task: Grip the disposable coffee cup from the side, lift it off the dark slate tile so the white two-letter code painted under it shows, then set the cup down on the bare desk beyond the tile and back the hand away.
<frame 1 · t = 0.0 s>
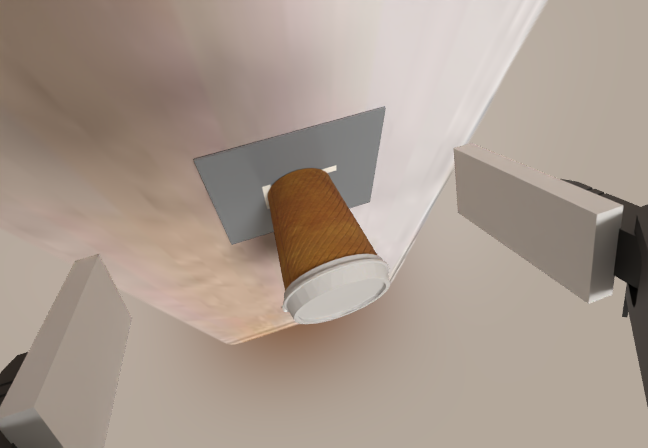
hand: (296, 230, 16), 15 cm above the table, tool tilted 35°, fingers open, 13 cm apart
disposable coffee cup: (298, 186, 42), resting on code tile
code tile: (297, 183, 41), on the table
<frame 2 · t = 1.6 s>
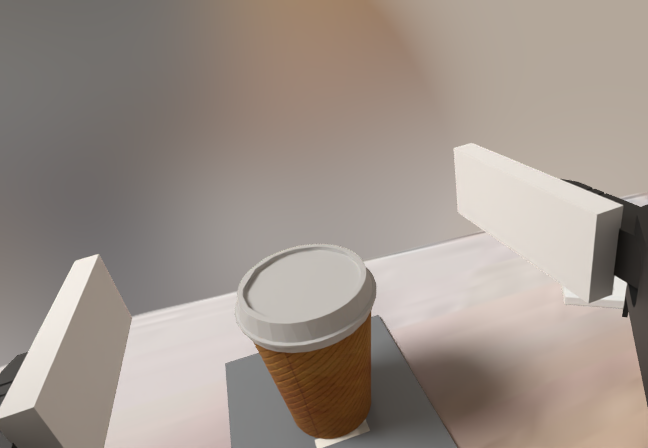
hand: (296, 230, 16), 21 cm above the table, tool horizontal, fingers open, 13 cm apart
external hard drive: (633, 287, 40), on the table
disposable coffee cup: (331, 404, 34), resting on code tile
code tile: (325, 406, 34), on the table
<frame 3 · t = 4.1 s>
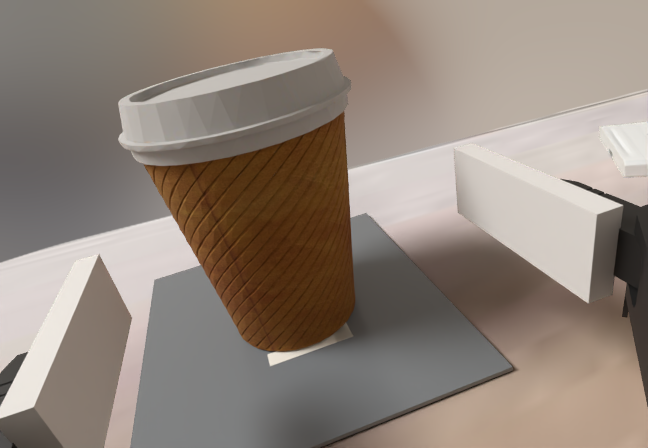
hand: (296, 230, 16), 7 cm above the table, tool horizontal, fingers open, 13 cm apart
disposable coffee cup: (297, 311, 23), resting on code tile
code tile: (288, 315, 23), on the table
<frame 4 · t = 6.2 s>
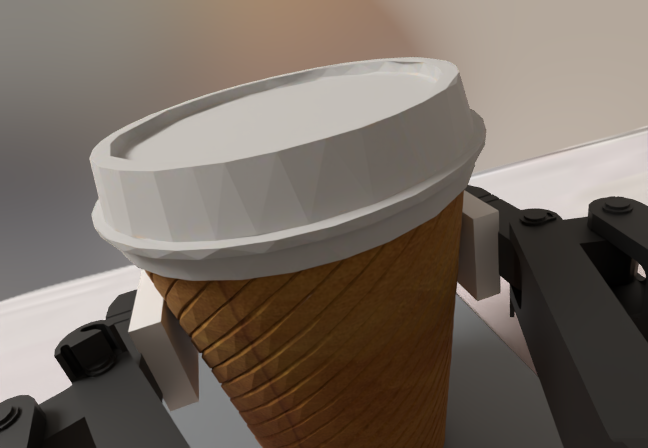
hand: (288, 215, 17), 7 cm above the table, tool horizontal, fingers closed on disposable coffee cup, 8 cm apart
disposable coffee cup: (357, 430, 16), resting on code tile, touching gripper
code tile: (344, 435, 16), on the table
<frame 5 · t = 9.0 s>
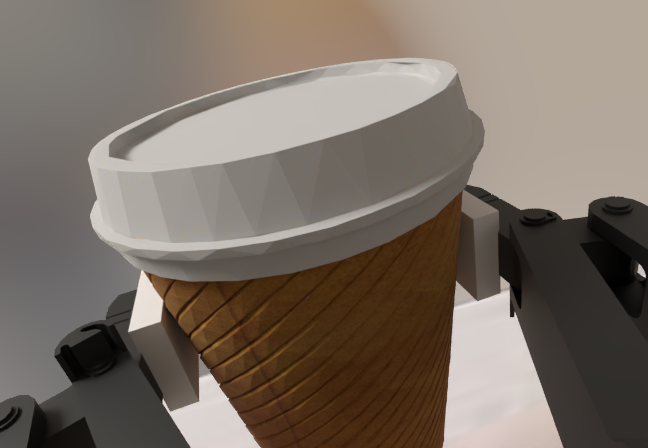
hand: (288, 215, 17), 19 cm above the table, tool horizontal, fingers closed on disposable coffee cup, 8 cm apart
disposable coffee cup: (356, 430, 16), point 13 cm above the table, touching gripper
when the fingers open (8 cm above the table, at t = 12.2 s): disposable coffee cup drops 1 cm, on the table.
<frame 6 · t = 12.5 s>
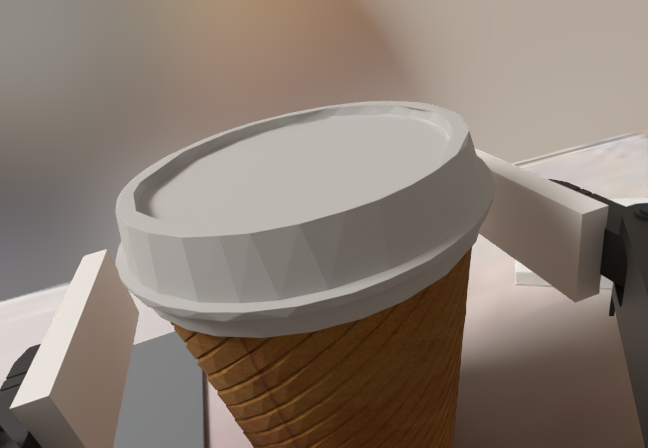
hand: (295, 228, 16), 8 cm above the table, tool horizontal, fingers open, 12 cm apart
external hard drive: (637, 255, 24), on the table
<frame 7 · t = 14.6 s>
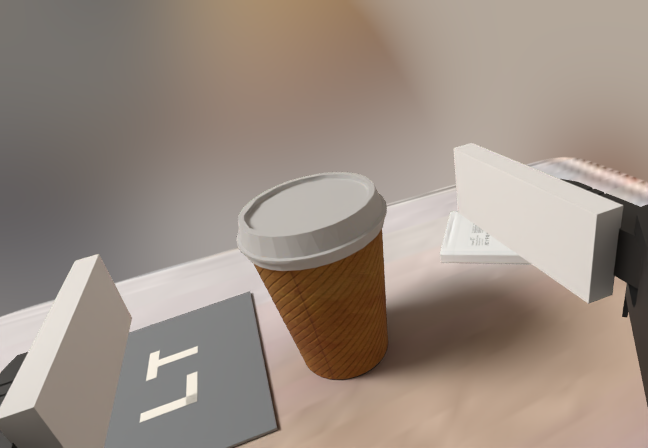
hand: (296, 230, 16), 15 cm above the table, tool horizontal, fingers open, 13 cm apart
external hard drive: (517, 244, 39), on the table
disposable coffee cup: (345, 348, 32), on the table
code tile: (166, 381, 33), on the table
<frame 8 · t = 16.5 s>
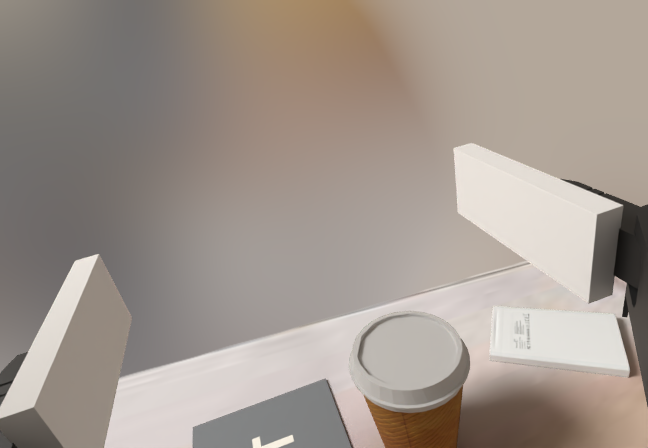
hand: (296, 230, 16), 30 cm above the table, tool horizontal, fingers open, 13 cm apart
external hard drive: (552, 344, 47), on the table
disposable coffee cup: (420, 445, 40), on the table
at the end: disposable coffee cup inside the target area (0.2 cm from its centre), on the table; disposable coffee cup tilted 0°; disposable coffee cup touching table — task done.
